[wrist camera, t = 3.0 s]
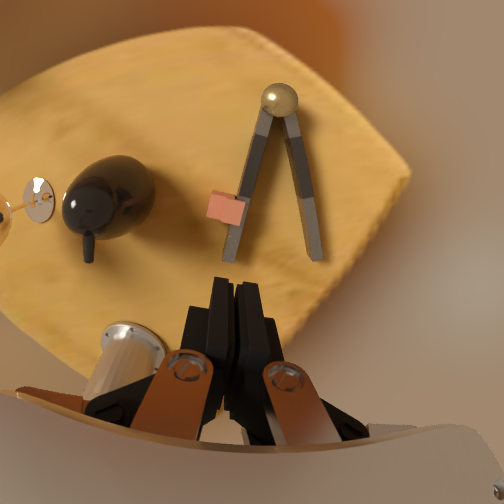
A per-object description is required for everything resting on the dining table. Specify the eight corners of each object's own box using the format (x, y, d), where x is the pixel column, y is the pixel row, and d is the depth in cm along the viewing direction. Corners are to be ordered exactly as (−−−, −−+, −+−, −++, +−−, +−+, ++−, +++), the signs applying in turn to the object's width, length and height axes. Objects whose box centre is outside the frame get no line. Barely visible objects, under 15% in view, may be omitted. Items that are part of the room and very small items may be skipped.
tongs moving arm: (317, 251, 40) (323, 259, 38) (307, 253, 41) (313, 262, 38) (287, 103, 33) (292, 98, 30) (275, 104, 33) (280, 100, 30)
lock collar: (238, 218, 38) (239, 226, 34) (207, 211, 37) (205, 218, 33) (243, 197, 37) (245, 202, 33) (212, 190, 36) (210, 194, 32)
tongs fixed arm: (249, 258, 40) (251, 270, 36) (219, 252, 39) (218, 263, 35) (294, 95, 32) (302, 89, 28) (263, 86, 32) (267, 78, 28)
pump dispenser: (101, 228, 36) (47, 269, 22) (95, 159, 33) (30, 168, 19) (164, 224, 37) (129, 268, 23) (160, 150, 34) (117, 151, 19)
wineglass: (57, 180, 33) (-36, 210, 14) (53, 227, 35) (-29, 279, 17) (25, 173, 32) (-62, 199, 13) (22, 218, 34) (-57, 261, 15)
